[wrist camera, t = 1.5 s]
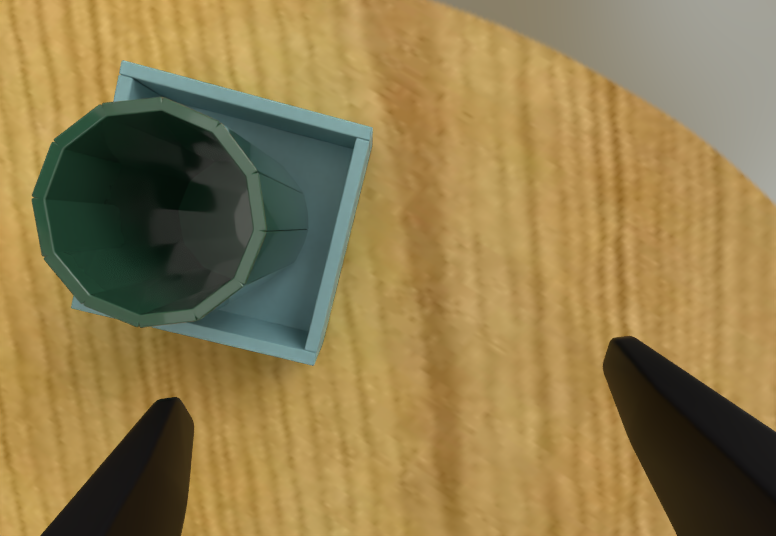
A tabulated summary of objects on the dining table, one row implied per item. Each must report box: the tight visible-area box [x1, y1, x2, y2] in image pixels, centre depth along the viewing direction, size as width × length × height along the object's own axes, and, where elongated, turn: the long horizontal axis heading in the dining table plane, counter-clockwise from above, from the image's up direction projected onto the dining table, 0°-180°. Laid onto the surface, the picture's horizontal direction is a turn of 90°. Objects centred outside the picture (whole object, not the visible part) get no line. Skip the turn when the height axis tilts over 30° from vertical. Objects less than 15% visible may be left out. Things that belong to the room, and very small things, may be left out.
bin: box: [71, 60, 373, 366], centre depth 22 cm, size 11×11×4 cm
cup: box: [32, 97, 309, 328], centre depth 19 cm, size 7×7×10 cm
